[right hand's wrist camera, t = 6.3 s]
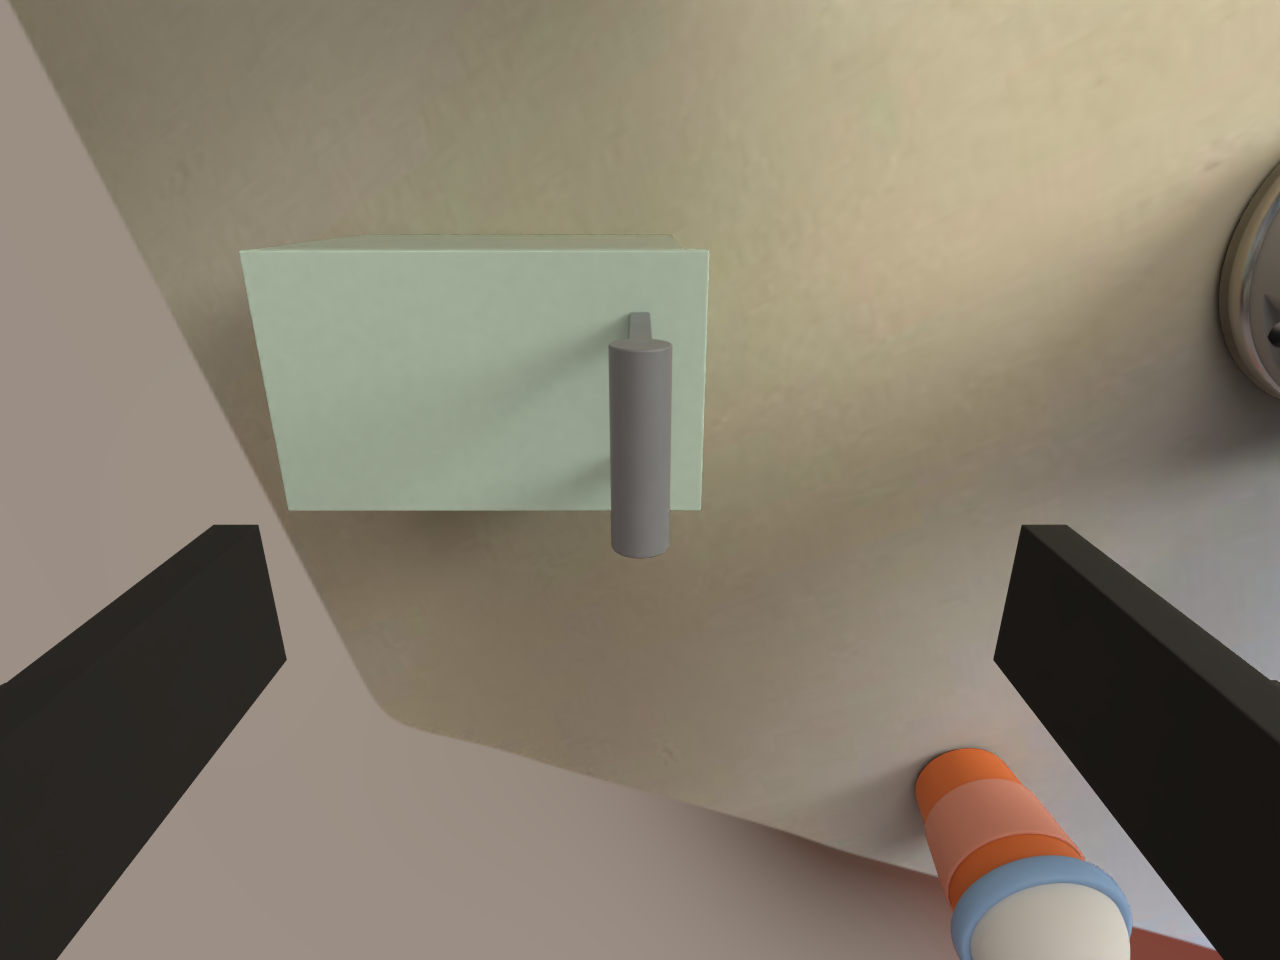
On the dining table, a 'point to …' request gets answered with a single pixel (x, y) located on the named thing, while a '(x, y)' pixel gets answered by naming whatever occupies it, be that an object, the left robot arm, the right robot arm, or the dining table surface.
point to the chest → (490, 242)
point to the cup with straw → (1014, 869)
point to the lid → (487, 380)
